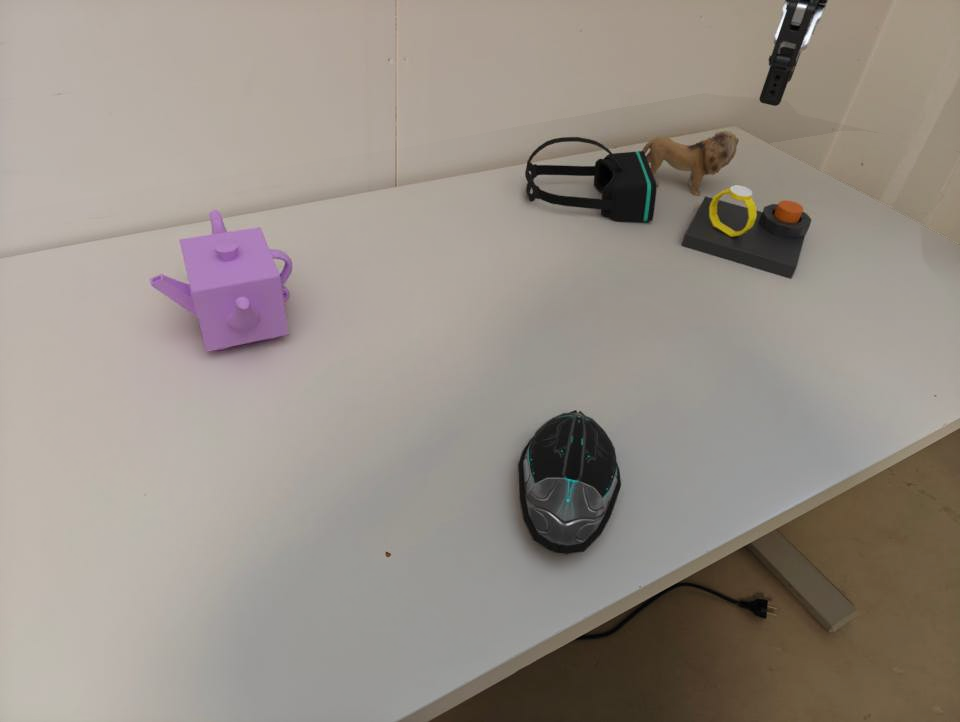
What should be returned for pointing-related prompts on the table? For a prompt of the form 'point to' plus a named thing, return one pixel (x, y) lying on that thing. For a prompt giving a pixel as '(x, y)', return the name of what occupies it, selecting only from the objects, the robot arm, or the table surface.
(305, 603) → the table surface
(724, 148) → the lion figurine
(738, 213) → the button base plate
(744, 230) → the watch
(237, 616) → the table surface
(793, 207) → the button
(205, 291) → the teapot
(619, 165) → the virtual reality headset
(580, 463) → the computer mouse
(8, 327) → the table surface
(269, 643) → the table surface
